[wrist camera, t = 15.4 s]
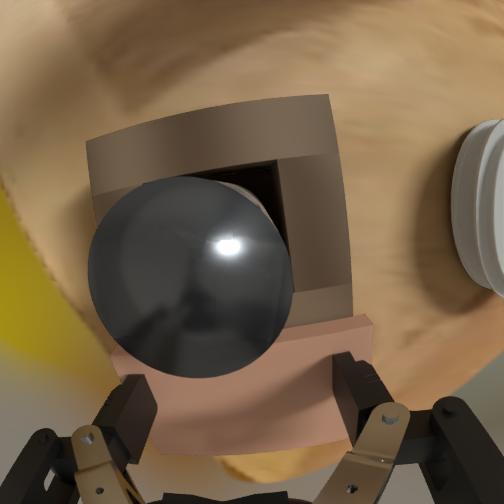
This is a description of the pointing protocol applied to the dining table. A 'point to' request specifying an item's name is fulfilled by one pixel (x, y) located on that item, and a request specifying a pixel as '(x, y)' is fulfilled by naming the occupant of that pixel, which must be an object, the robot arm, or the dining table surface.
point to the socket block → (247, 159)
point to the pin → (191, 276)
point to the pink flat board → (256, 395)
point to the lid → (480, 205)
